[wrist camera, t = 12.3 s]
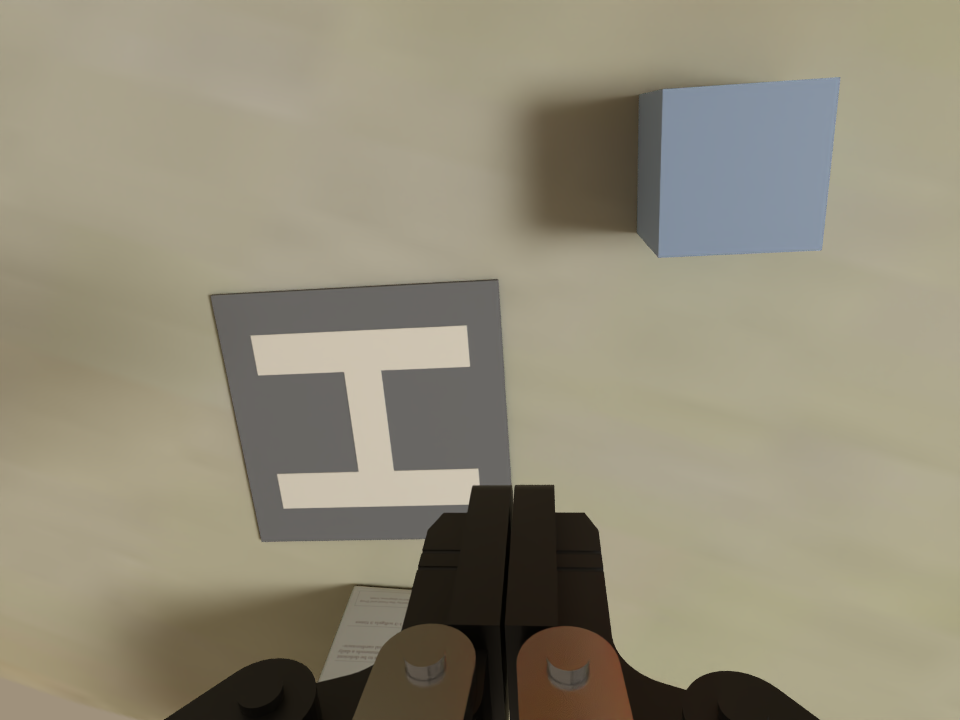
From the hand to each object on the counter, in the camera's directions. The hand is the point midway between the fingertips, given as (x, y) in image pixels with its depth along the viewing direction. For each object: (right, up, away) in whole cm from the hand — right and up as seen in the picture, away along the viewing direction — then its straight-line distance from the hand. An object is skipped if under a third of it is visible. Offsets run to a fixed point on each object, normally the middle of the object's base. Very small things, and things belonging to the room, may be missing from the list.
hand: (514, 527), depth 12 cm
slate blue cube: (+8, +10, +13) cm, 18 cm away
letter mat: (-5, 0, +17) cm, 18 cm away
